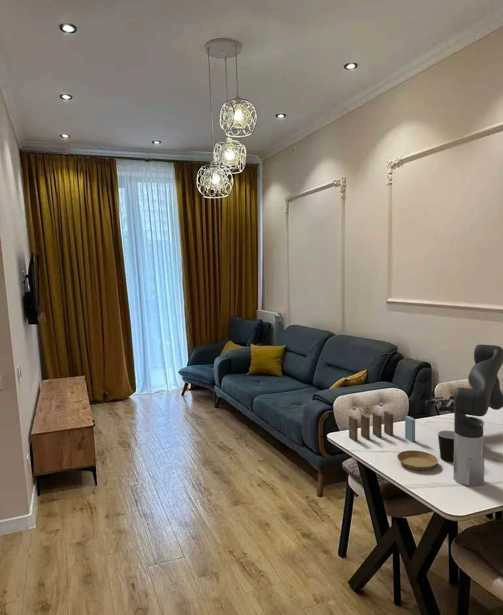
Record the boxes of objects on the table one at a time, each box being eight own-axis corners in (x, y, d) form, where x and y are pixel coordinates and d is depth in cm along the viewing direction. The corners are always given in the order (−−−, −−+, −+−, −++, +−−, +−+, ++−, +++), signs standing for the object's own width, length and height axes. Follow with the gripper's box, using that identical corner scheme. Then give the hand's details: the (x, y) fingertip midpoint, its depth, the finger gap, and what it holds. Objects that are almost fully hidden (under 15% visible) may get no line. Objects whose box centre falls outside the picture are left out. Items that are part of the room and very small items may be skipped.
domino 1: (352, 436, 203) (352, 415, 202) (357, 440, 198) (357, 418, 197) (349, 437, 202) (348, 415, 201) (354, 441, 198) (354, 419, 197)
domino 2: (364, 435, 204) (364, 413, 203) (369, 439, 200) (369, 417, 199) (360, 435, 204) (360, 414, 203) (366, 439, 199) (366, 417, 198)
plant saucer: (413, 476, 165) (413, 469, 165) (389, 459, 179) (389, 453, 179) (446, 469, 169) (446, 462, 169) (420, 454, 183) (420, 447, 183)
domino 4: (387, 431, 208) (387, 410, 207) (393, 435, 203) (393, 414, 202) (384, 432, 207) (384, 411, 206) (390, 436, 203) (390, 414, 202)
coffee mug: (447, 465, 172) (447, 439, 172) (432, 456, 181) (433, 431, 180) (472, 460, 176) (473, 436, 175) (457, 452, 184) (457, 428, 183)
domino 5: (408, 437, 200) (408, 415, 199) (414, 441, 195) (415, 419, 194) (405, 438, 200) (405, 416, 199) (411, 442, 195) (412, 419, 194)
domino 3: (375, 433, 206) (375, 412, 205) (381, 437, 201) (381, 415, 200) (372, 433, 205) (372, 412, 204) (378, 437, 201) (378, 416, 200)
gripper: (474, 415, 198) (442, 419, 194) (451, 405, 212) (422, 409, 208) (474, 398, 198) (442, 403, 193) (452, 390, 211) (422, 393, 207)
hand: (432, 406), depth 201 cm, fingers open, 8 cm apart
